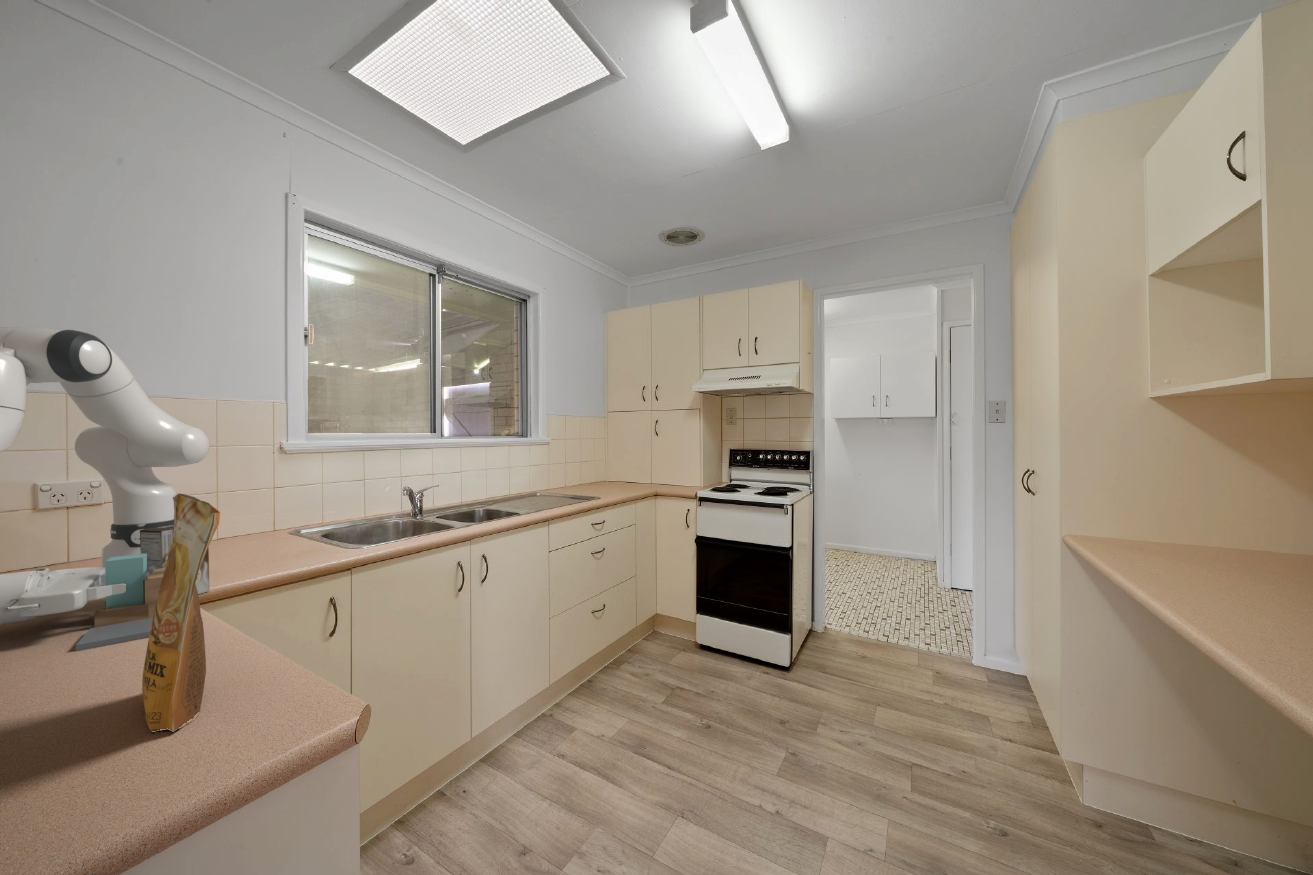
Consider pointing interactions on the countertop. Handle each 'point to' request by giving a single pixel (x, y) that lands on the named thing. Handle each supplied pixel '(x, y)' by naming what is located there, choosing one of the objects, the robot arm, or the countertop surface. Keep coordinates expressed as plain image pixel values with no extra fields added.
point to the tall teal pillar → (126, 579)
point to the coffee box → (158, 548)
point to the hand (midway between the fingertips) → (131, 581)
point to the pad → (115, 634)
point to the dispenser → (135, 611)
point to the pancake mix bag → (179, 622)
